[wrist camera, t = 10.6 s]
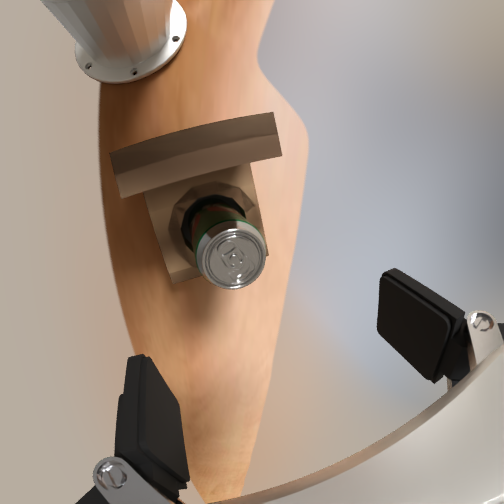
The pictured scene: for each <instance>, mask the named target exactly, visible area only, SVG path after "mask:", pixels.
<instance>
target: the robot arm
mask: <svg viewBox="0 0 504 504" xmlns="http://www.w3.org/2000/svg"><path fill="white" fill-rule="evenodd" d="M41 1H42V3H43V4H44V5H45V6H46V7H47V8H48V9H49V10H50V12H51V13H52V14H53V15H54V16H55V17H56V18H57V20H58V21H59V22H60V23H61V24H62V25H63V26H64V27H65V29H66V30H67V31H68V32H69V33H70V34H71V35H72V37H73V38H74V39H75V40H76V43H75V56H76V61H77V63H78V64H79V67H80V68H81V69H82V70H83V71H84V72H85V73H86V74H87V75H88V76H89V77H91V78H93V79H95V80H97V81H99V82H104V83H110V84H120V83H129V82H132V81H136V80H139V79H142V78H144V77H146V76H149V75H151V74H152V73H154V72H156V71H157V70H159V69H161V68H162V67H163V66H164V65H166V64H167V63H168V62H169V61H170V60H171V59H172V58H173V57H174V56H175V55H176V54H177V52H178V51H179V49H180V48H181V46H182V44H183V41H184V39H185V36H186V30H187V19H186V14H185V12H184V10H183V8H182V7H181V6H180V4H179V3H178V2H177V1H175V0H41ZM174 41H178V42H174ZM90 67H91V69H89V68H90ZM135 72H137V74H136V75H133V74H134V73H135ZM379 285H380V286H379V305H378V318H377V331H378V333H379V334H380V335H381V336H382V337H383V338H384V339H385V340H386V341H387V342H388V343H389V344H390V345H391V346H392V347H393V348H394V349H395V350H396V351H398V353H399V354H401V355H402V356H403V357H404V358H405V359H406V360H407V361H408V362H409V363H410V364H411V365H412V366H413V367H414V368H415V369H416V370H417V371H418V372H419V373H420V374H421V375H422V376H423V377H424V378H426V379H427V380H431V381H432V382H433V383H434V384H435V383H436V382H437V381H439V380H440V379H441V378H442V377H443V375H445V376H446V377H447V389H448V392H447V393H446V394H444V395H443V396H442V397H441V398H440V399H438V400H437V401H436V402H434V403H433V404H432V405H431V406H429V407H428V408H427V409H425V410H424V411H423V412H421V413H420V414H419V415H417V416H416V417H415V418H413V419H411V420H410V421H409V422H407V423H406V424H404V425H403V426H401V427H400V428H398V429H397V430H395V431H394V432H392V433H390V434H389V435H387V436H386V437H384V438H382V439H381V440H379V441H377V442H375V443H374V444H372V445H370V446H369V447H367V448H365V449H363V450H361V451H359V452H357V453H355V454H353V455H352V456H350V457H348V458H346V459H344V460H342V461H340V462H337V463H335V464H333V465H331V466H329V467H326V468H324V469H322V470H319V471H317V472H315V473H312V474H310V475H307V476H305V477H302V478H299V479H297V480H294V481H291V482H288V483H286V484H283V485H280V486H277V487H273V488H270V489H267V490H263V491H260V492H256V493H253V494H249V495H245V496H241V497H237V498H233V499H229V500H224V501H219V502H214V503H209V504H504V323H497V321H496V319H495V318H494V317H493V316H492V315H491V314H490V313H488V312H485V311H481V310H477V311H473V312H471V313H470V314H469V315H468V317H467V320H466V319H465V318H464V315H465V312H464V311H463V310H461V309H460V308H458V307H457V306H455V305H454V304H452V303H451V302H449V301H448V300H446V299H445V298H443V297H441V296H440V295H438V294H437V293H435V292H434V291H432V290H431V289H429V288H427V287H426V286H424V285H423V284H421V283H420V282H418V281H416V280H415V279H413V278H411V277H410V276H408V275H406V274H405V273H403V272H402V271H400V270H398V269H396V268H393V269H391V270H388V271H386V272H384V273H383V274H382V277H381V278H380V284H379ZM93 481H94V483H95V486H94V487H93V488H92V489H91V490H90V491H89V492H87V493H86V494H85V495H84V496H83V497H82V498H81V499H80V500H79V501H78V502H77V503H76V504H185V503H184V502H183V501H181V500H180V499H179V498H178V497H179V491H178V490H180V489H187V484H186V482H189V481H190V476H189V470H188V464H187V458H186V452H185V445H184V438H183V430H182V422H181V414H180V406H179V403H178V401H177V399H176V398H175V396H174V395H173V393H172V392H171V390H170V389H169V387H168V385H167V384H166V382H165V381H164V379H163V378H162V376H161V374H160V373H159V371H158V369H157V368H156V366H155V364H154V363H153V361H152V359H151V358H150V357H145V355H144V354H140V355H136V356H131V357H129V358H128V361H127V368H126V376H125V384H124V393H123V394H121V395H120V396H119V401H118V411H117V421H116V434H115V454H114V457H107V458H104V459H103V460H101V461H100V462H99V463H98V464H97V465H96V466H95V469H94V471H93Z"/></svg>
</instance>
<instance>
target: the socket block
mask: <svg viewBox="0 0 504 504" xmlns="http://www.w3.org/2000/svg"><path fill="white" fill-rule="evenodd" d="M109 154H110V158H111V162H112V166H113V170H114V174H115V178H116V182H117V185H118V189H119V192H120V196H121V199H123V198H126V197H129V196H132V195H135V194H138V193H141V192H143V194H144V198H145V201H146V205H147V208H148V211H149V215H150V218H151V221H152V224H153V228H154V231H155V234H156V237H157V240H158V243H159V246H160V249H161V252H162V255H163V258H164V261H165V264H166V267H167V269H168V272H169V275H170V278H171V280H172V283H173V284H176V283H179V282H182V281H186V280H189V279H192V278H196V277H199V276H202V275H201V273H200V272H199V270H198V268H197V265H196V261H195V256H194V251H193V247H192V242H191V237H190V232H189V227H188V218H189V214H190V212H191V210H192V209H193V207H194V206H195V205H196V204H197V203H199V202H200V201H202V200H205V199H208V198H217V199H221V200H223V201H225V202H227V203H228V204H229V205H230V206H231V207H233V208H234V209H235V210H236V211H237V212H238V213H240V214H241V215H242V216H243V217H244V218H245V219H246V220H248V221H249V222H250V223H251V224H252V225H253V226H255V227H256V228H257V229H258V230H259V232H260V233H261V234H262V236H263V238H264V241H265V244H266V239H265V234H264V229H263V224H262V219H261V214H260V209H259V204H258V200H257V195H256V190H255V185H254V181H253V176H252V171H251V166H250V163H251V162H255V161H260V160H265V159H270V158H275V157H280V156H282V152H281V147H280V142H279V137H278V132H277V127H276V123H275V118H274V113H273V112H270V113H263V114H256V115H250V116H244V117H239V118H233V119H228V120H223V121H218V122H214V123H209V124H205V125H200V126H196V127H192V128H188V129H184V130H180V131H177V132H173V133H169V134H166V135H162V136H159V137H156V138H152V139H149V140H146V141H143V142H140V143H137V144H134V145H131V146H128V147H125V148H122V149H119V150H116V151H114V152H111V153H109ZM266 256H269V254H268V249H267V244H266Z"/></svg>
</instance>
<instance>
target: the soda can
mask: <svg viewBox="0 0 504 504" xmlns="http://www.w3.org/2000/svg"><path fill="white" fill-rule="evenodd" d="M188 227H189V232H190V237H191V242H192V247H193V251H194V256H195V261H196V265H197V268H198V270H199V272H200V273H201V275H202V276H203V277H204V278H205V279H206V280H207V281H208V282H210V283H212V284H214V285H216V286H218V287H221V288H224V289H239V288H243V287H245V286H248V285H249V284H251V283H252V282H253V281H255V280H256V279H257V278H258V277H259V275H260V274H261V272H262V270H263V268H264V265H265V260H266V244H265V241H264V238H263V236H262V234H261V233H260V232H259V230H258V229H257V228H256V227H255V226H253V225H252V224H251V223H250V222H249V221H248V220H246V219H245V218H244V217H243V216H242V215H241V214H240V213H238V212H237V211H236V210H235V209H234V208H233V207H231V206H230V205H229V204H228V203H227V202H225V201H223V200H221V199H217V198H208V199H205V200H202V201H200V202H199V203H197V204H196V205H195V206H194V207H193V209H192V210H191V212H190V214H189V218H188Z"/></svg>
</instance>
